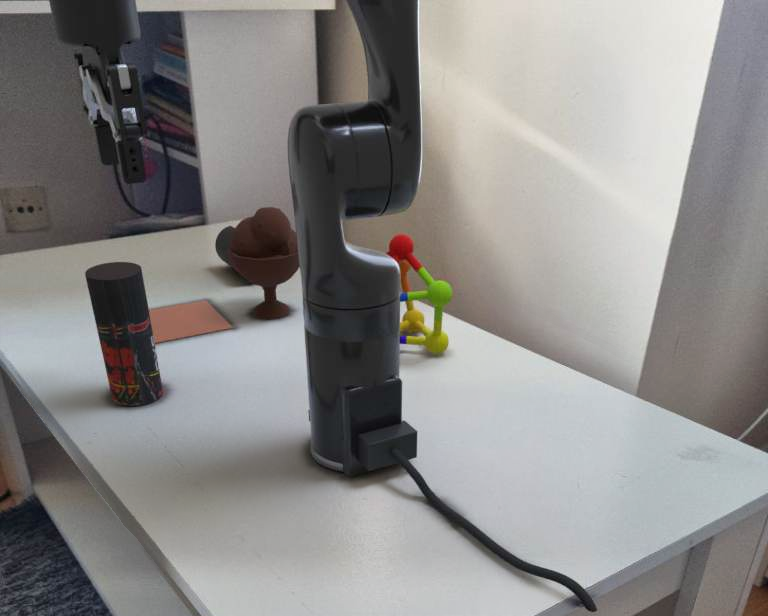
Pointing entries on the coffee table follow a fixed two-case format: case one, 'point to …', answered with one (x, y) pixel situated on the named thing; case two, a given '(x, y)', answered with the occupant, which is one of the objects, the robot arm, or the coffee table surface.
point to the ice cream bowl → (265, 256)
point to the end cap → (224, 243)
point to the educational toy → (420, 298)
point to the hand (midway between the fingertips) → (123, 173)
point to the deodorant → (125, 332)
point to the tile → (185, 321)
